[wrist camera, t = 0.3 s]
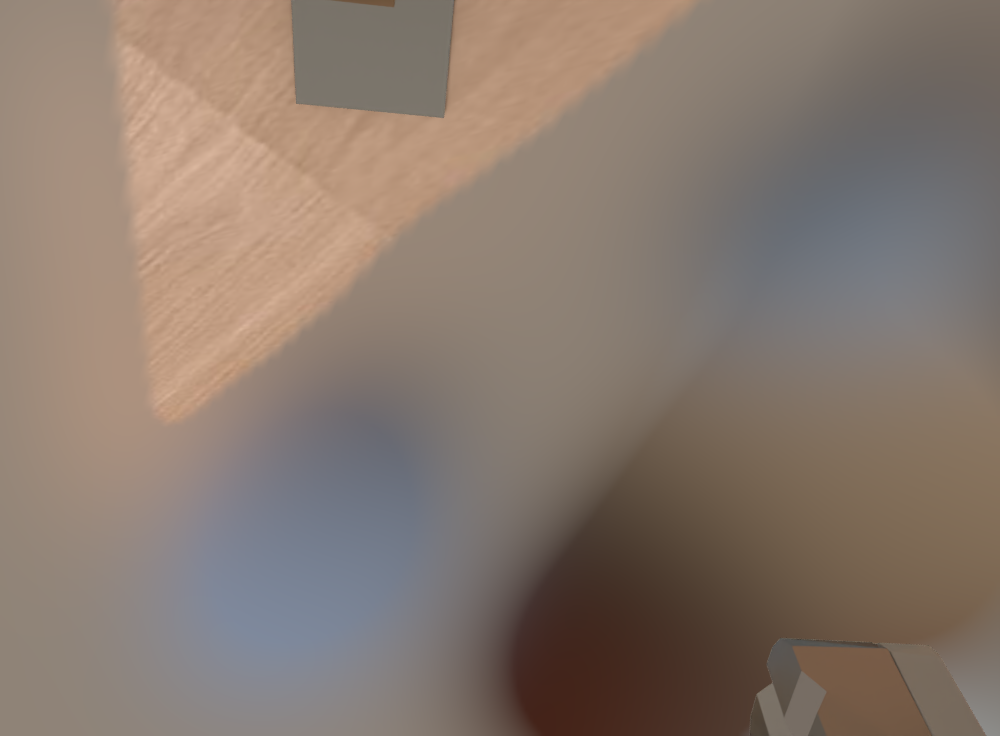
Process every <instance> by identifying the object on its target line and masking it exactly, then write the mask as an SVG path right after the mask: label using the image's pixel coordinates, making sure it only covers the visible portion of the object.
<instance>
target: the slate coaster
mask: <svg viewBox="0 0 1000 736" xmlns="http://www.w3.org/2000/svg"><path fill="white" fill-rule="evenodd" d="M291 2H292V24H293V45H294V67H295V88H296V104H307V105H317V106H327V107H337V108H347V109H358V110H368V111H378V112H388V113H399V114H409V115H419V116H429V117H440V118H444V112H445V101H446V89H447V77H448V65H449V54H450V42H451V30H452V18H453V7H454V0H395V5H394V7H386V6H377V5H368V4H359V3H350V2H341V1H332V0H291Z"/></svg>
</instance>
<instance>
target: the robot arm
mask: <svg viewBox="0 0 1000 736" xmlns="http://www.w3.org/2000/svg"><path fill="white" fill-rule="evenodd" d="M767 667H768V670H769V673H770V676H771V679H772V682H773V683H772V684H770V685H769V686H767V687H766V688H765V689H763V690H762V691H761V692H759V693H758V694H757V695H756V699H755V702H754V706H753V710H752V713H751V718H750V736H986V735H985V733H984V731H983V729H982V728H981V726H980V724H979V723H978V721H977V719H976V717H975V716H974V714H973V712H972V710H971V709H970V707H969V705H968V703H967V702H966V700H965V698H964V697H963V695H962V693H961V691H960V690H959V688H958V686H957V684H956V683H955V681H954V679H953V678H952V676H951V674H950V672H949V671H948V669H947V667H946V666H945V664H944V662H943V660H942V659H941V657H940V655H939V654H938V653H937V652H936V651H935V650H933V649H932V648H931V647H930V646H928V645H911V644H890V643H878V644H875V643H872V642H853V641H832V640H811V639H789V638H780V639H779V640H778V641H777V642H776V644H775V645H774V646H773V647H772V650H771V653H770V656H769V659H768V662H767Z"/></svg>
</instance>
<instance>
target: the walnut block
mask: <svg viewBox="0 0 1000 736" xmlns="http://www.w3.org/2000/svg"><path fill="white" fill-rule="evenodd" d="M332 1H341V2H350V3H359V4H368V5H377V6H386V7H394V5H395V0H332Z"/></svg>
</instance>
